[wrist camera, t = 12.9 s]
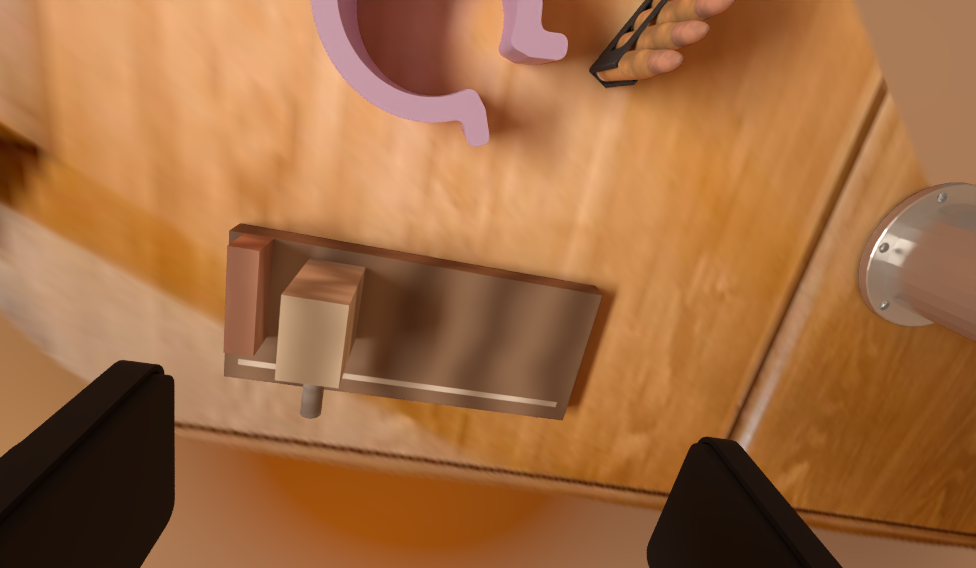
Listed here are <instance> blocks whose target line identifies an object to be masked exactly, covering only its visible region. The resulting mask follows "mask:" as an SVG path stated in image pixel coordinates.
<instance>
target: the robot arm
mask: <svg viewBox="0 0 976 568" xmlns="http://www.w3.org/2000/svg"><path fill="white" fill-rule="evenodd" d="M859 288H860V291H861V295H862V298H863V299H864V301H865V303H866V305H867V306H868V307H869V308H870V309H871V310H872V311H873V312H874V313H875V314H877V315H878V316H880V317H882V318H883V319H885V320H887V321H889V322H892V323H894V324H897V325H902V326H908V327H909V326H924V325H929V324H934V323H936V324H938V325H940V326H942V327H944V328H947V329H949V330H951V331H953V332H955V333H957V334H959V335H961V336H963V337H966V338H968V339H970V340H972V341H974V342H976V185H973V184H967V183H945V184H940V185H935V186H933V187H930V188H927V189H924V190H922V191H920V192H918V193H916V194H914V195H913V196H911V197H909V198H907V199H906V200H905V201H903V202H902V203H901V204H899V205H898V206H897V207H895V208H894V209H893V210H892V211H891V212H890V213H889V214H888V215H887V216H886V217H885V218H884V219H883V220H882V222H881V223H880V224H879V226H878V227H877V228H876V230H875V231H874V232H873V234H872V236H871V237H870V239H869V241H868V243H867V245H866V247H865V249H864V252H863V255H862V258H861V261H860V267H859ZM174 449H175V448H174V379H173V377H172V376H171V375H164V370H163V368H162V366H160V365H157V364H149V363H142V362H134V361H126V360H120V361H118V362H116V363H114V364H113V365H112V366H111V367H110V368H108V369H107V370H106V371H105V372H104V373H102V374H101V375H100V376H99V377H98V378H96V379H95V380H94V381H93V382H92V383H91V384H89V385H88V386H87V387H86V388H85V389H83V390H82V391H81V392H80V393H79V394H77V395H76V396H75V397H74V398H73V399H71V401H69V402H68V403H67V404H66V405H64V406H63V407H62V408H61V409H60V410H58V411H57V412H56V413H55V414H54V415H52V416H51V417H50V418H49V419H48V420H46V421H45V422H44V423H43V424H42V425H41V426H39V427H38V428H37V429H36V430H35V431H33V432H32V433H31V434H30V435H29V436H28V437H26V438H25V439H24V440H23V441H21V442H20V443H18V444H17V445H15V446H14V447H12V448H11V449H10V450H9V451H8V452H7V453H5V454H4V455H3V456H2V457H0V568H140V567H141V565H142V564H143V562H144V561H145V559H146V557H147V556H148V554H149V553H150V551H151V549H152V548H153V546H154V544H155V543H156V541H157V540H158V538H159V536H160V535H161V533H162V532H163V530H164V529H165V527H166V525H167V523H168V522H169V519H170V517H171V514H172V511H173V507H174V500H175V489H174V488H175V484H174V483H175V476H174V475H175V470H174V469H175V466H174V465H175V462H174V461H175V460H174V459H175V458H174V456H175V455H174V454H175V453H174ZM647 561H648V565H649V567H650V568H842V566H841V565H840V564H839V563H838V562H837V560H836V559H835V558H834V557H833V556H832V555H831V553H830V552H829V551H828V550H827V549H826V547H825V546H824V545H823V544H822V543H821V541H820V540H819V539H818V538H817V537H816V535H815V534H814V533H813V532H812V531H811V529H810V528H809V527H808V526H807V525H806V523H805V522H804V521H803V520H802V519H801V517H800V516H799V515H798V514H797V513H796V511H795V510H794V509H793V508H792V507H791V505H790V504H789V503H788V502H787V501H786V500H785V498H784V497H783V496H782V495H781V494H780V492H779V491H778V490H777V489H776V488H775V486H774V485H773V484H772V483H771V482H770V480H769V479H768V478H767V477H766V476H765V474H764V473H763V472H762V471H761V470H760V468H759V467H758V466H757V465H756V464H755V462H754V461H753V460H752V459H751V458H750V456H749V455H748V454H747V453H746V452H745V451H744V449H743V448H742V447H741V446H740V445H739V444H738V443H737V442H736V441H733V440H727V439H720V438H712V437H703V438H701V439H700V440H699V441H698V443H695V444H693V445H692V446H691V447H690V449H689V451H688V453H687V455H686V458H685V460H684V462H683V465H682V467H681V469H680V472H679V474H678V476H677V479H676V481H675V483H674V485H673V488H672V490H671V492H670V495H669V497H668V499H667V502H666V504H665V506H664V509H663V511H662V513H661V516H660V518H659V521H658V522H657V525H656V527H655V529H654V532H653V534H652V536H651V539H650V541H649V543H648V547H647Z"/></svg>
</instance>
